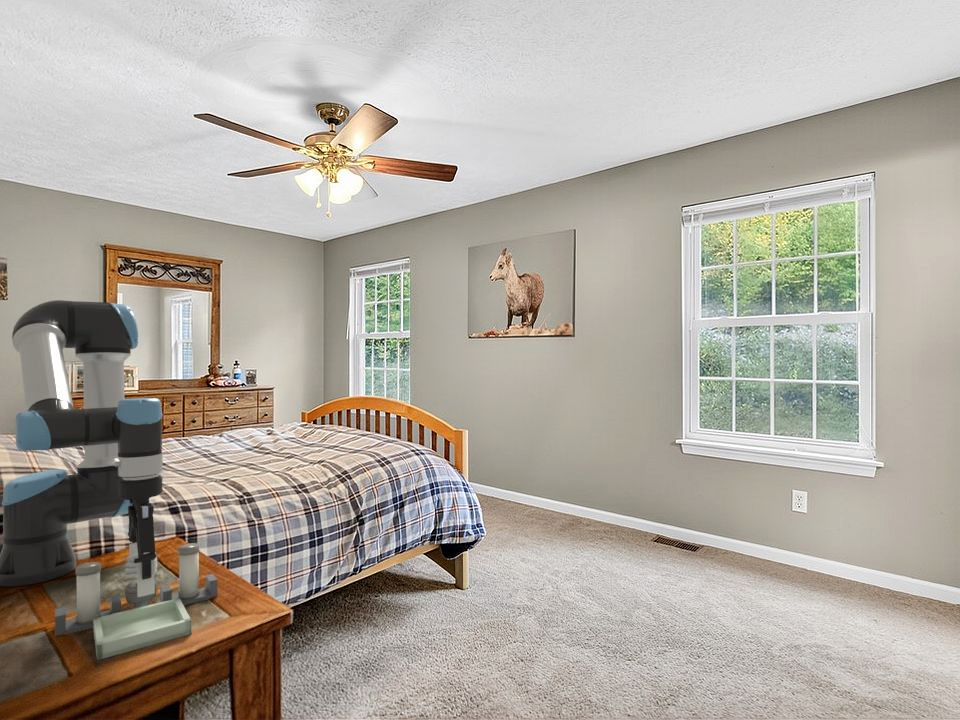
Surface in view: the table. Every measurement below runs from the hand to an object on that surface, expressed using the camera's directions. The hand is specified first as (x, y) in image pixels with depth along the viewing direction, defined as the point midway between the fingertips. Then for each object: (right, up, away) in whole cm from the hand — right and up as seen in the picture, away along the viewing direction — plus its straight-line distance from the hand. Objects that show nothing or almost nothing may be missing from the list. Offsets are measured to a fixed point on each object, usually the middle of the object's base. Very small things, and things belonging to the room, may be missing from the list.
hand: (141, 584), depth 108 cm
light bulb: (0, -6, 0) cm, 6 cm away
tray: (+5, -5, -9) cm, 12 cm away
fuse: (-7, -6, -5) cm, 10 cm away
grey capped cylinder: (+7, -5, +5) cm, 10 cm away
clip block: (0, -5, 0) cm, 5 cm away
